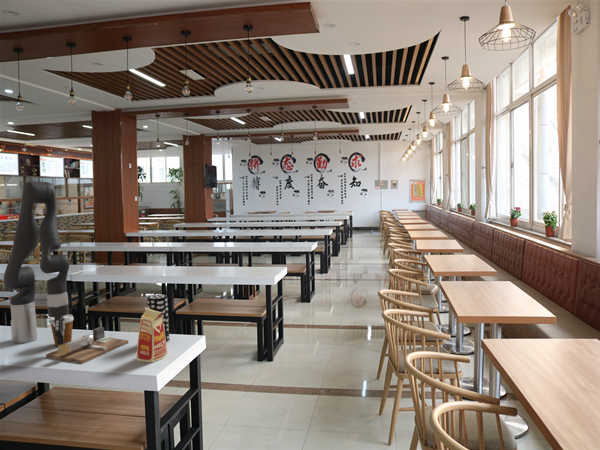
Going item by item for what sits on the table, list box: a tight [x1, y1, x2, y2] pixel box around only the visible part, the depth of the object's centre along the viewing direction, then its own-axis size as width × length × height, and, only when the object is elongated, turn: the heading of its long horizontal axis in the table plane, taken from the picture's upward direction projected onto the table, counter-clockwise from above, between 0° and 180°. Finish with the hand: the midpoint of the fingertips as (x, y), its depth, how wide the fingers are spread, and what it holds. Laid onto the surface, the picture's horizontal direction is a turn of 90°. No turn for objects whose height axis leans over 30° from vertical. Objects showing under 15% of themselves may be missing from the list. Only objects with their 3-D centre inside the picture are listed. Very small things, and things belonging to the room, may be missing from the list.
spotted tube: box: [146, 293, 170, 343], centre depth 196 cm, size 8×8×20 cm
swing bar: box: [57, 333, 94, 355], centre depth 183 cm, size 15×4×4 cm, turn 158°
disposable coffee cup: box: [48, 313, 75, 347], centre depth 196 cm, size 10×10×12 cm
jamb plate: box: [45, 326, 129, 364], centre depth 188 cm, size 20×24×6 cm
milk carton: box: [135, 307, 168, 363], centre depth 177 cm, size 9×9×20 cm
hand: (60, 344), depth 184 cm, fingers closed
